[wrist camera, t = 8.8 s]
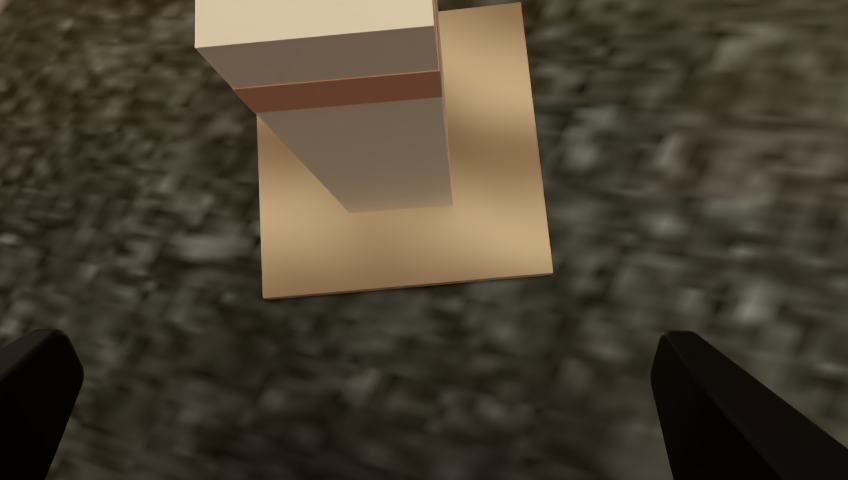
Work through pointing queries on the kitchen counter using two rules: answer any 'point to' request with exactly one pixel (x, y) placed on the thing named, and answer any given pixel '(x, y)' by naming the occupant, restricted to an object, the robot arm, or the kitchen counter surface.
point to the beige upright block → (342, 90)
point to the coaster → (431, 226)
